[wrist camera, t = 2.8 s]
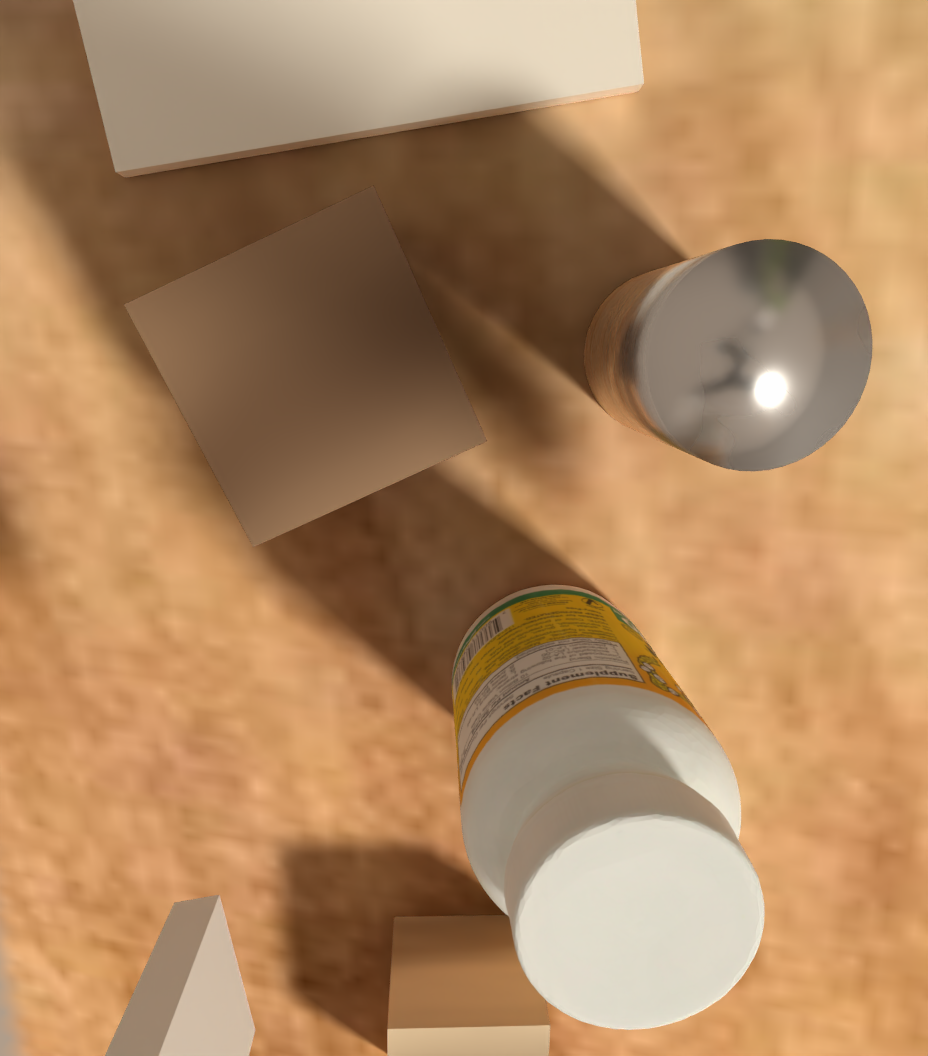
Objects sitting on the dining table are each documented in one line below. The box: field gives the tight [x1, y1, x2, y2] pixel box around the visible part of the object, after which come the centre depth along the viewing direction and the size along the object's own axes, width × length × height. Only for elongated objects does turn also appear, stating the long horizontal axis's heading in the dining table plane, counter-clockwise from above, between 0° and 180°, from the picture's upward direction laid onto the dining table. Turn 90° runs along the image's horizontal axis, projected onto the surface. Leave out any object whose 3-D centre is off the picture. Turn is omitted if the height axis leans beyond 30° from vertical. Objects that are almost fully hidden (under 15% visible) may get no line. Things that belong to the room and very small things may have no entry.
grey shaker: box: [584, 239, 872, 471], centre depth 17 cm, size 4×4×6 cm
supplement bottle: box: [452, 585, 764, 1030], centre depth 17 cm, size 5×5×10 cm
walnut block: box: [124, 185, 487, 547], centre depth 17 cm, size 5×5×5 cm
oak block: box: [387, 915, 550, 1056], centre depth 22 cm, size 5×4×4 cm
